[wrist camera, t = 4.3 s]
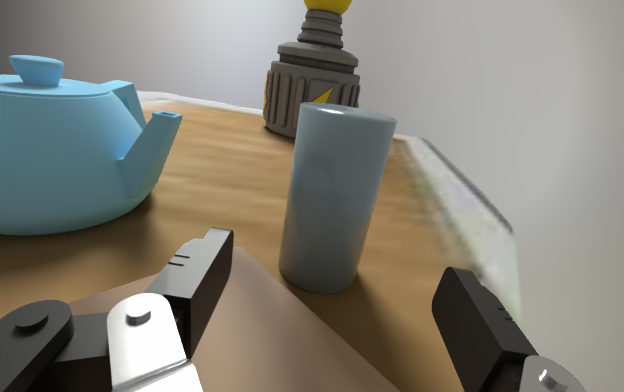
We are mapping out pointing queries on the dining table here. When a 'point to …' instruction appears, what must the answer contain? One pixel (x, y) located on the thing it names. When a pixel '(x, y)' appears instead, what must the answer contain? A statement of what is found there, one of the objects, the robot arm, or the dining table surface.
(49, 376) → the robot arm
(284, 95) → the toy tesla coil
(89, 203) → the teapot
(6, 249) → the dining table surface
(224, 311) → the placemat
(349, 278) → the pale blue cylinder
